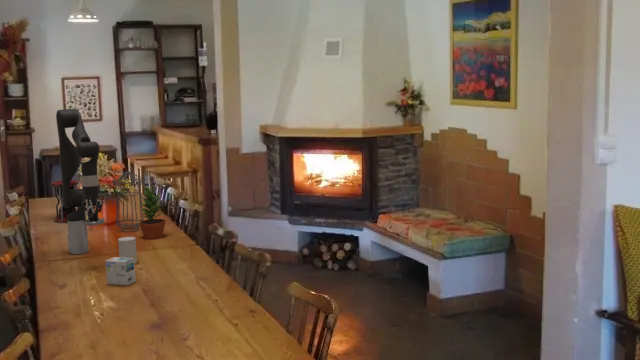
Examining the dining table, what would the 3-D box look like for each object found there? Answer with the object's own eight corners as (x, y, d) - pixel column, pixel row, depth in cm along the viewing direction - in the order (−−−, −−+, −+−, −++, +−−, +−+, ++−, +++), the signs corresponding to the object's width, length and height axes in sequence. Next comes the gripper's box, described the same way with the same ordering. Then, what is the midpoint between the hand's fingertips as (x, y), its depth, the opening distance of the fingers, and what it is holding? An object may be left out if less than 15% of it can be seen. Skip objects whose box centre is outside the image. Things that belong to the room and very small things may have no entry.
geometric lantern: (123, 227, 429) (120, 169, 424) (148, 227, 427) (145, 169, 422) (112, 232, 414) (109, 173, 409) (138, 233, 411) (135, 173, 407)
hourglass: (50, 222, 449) (46, 183, 445) (63, 217, 465) (59, 179, 461) (73, 223, 446) (70, 183, 442) (86, 217, 462) (82, 179, 458)
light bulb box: (136, 281, 314) (134, 257, 313) (127, 285, 308) (125, 261, 307) (115, 279, 318) (113, 256, 316) (106, 284, 312) (104, 260, 310)
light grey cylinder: (132, 265, 342) (130, 240, 340) (116, 264, 343) (114, 240, 341) (140, 260, 349) (138, 236, 348) (124, 260, 351) (122, 236, 349)
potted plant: (173, 235, 403) (169, 182, 398) (153, 241, 390) (149, 187, 385) (154, 232, 411) (150, 181, 406) (134, 238, 398) (130, 185, 393)
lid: (78, 224, 335) (77, 213, 334) (95, 220, 343) (94, 209, 342) (91, 226, 329) (90, 215, 329) (109, 222, 338) (108, 211, 337)
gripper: (74, 184, 334) (77, 220, 337) (93, 186, 326) (96, 223, 329) (87, 182, 340) (90, 217, 343) (106, 184, 332) (109, 220, 335)
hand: (93, 220), depth 336 cm, fingers closed on lid, 3 cm apart
